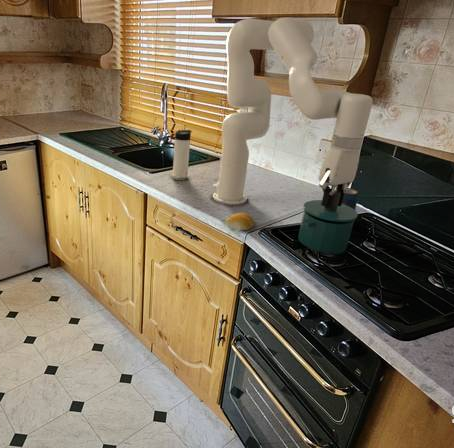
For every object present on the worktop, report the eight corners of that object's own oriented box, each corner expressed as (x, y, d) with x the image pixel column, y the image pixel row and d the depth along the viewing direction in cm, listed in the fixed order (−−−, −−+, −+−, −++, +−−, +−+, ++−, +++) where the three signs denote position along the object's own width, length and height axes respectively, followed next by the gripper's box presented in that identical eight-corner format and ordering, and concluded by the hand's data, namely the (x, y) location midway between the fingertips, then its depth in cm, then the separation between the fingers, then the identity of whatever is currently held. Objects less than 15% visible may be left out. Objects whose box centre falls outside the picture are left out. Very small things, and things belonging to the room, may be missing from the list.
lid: (292, 208, 119) (296, 186, 116) (325, 200, 126) (330, 180, 123) (333, 227, 108) (339, 204, 105) (367, 218, 114) (374, 196, 112)
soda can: (344, 220, 138) (353, 187, 132) (354, 229, 131) (363, 194, 126) (324, 219, 137) (332, 186, 132) (333, 228, 131) (342, 194, 126)
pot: (282, 240, 122) (287, 211, 118) (324, 228, 131) (331, 201, 127) (318, 260, 111) (326, 229, 107) (361, 246, 120) (370, 217, 116)
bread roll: (257, 224, 131) (258, 213, 129) (245, 234, 124) (247, 222, 122) (234, 217, 135) (235, 206, 133) (221, 226, 128) (222, 214, 127)
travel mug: (190, 179, 169) (194, 132, 160) (175, 180, 167) (179, 132, 158) (184, 175, 174) (188, 128, 165) (170, 176, 172) (173, 129, 163)
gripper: (354, 137, 115) (338, 197, 122) (314, 141, 107) (300, 205, 115) (378, 143, 109) (360, 205, 117) (338, 148, 101) (322, 215, 109)
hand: (331, 205), depth 116 cm, fingers closed on lid, 3 cm apart
